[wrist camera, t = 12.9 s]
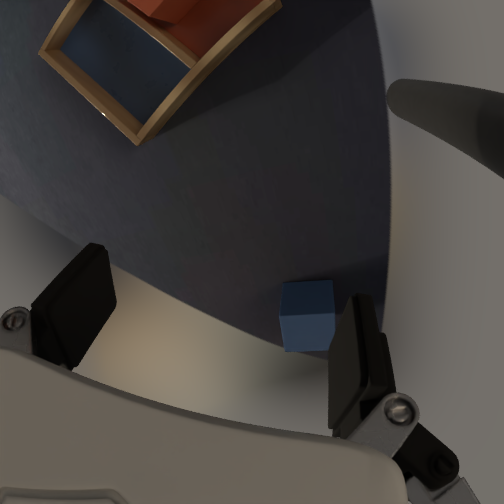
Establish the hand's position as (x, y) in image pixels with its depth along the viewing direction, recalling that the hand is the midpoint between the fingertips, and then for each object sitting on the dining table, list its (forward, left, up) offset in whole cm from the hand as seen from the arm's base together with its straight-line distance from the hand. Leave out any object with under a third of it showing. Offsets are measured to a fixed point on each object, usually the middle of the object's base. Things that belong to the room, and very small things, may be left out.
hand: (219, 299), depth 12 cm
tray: (-3, -15, -14) cm, 21 cm away
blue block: (+5, +11, -14) cm, 19 cm away
